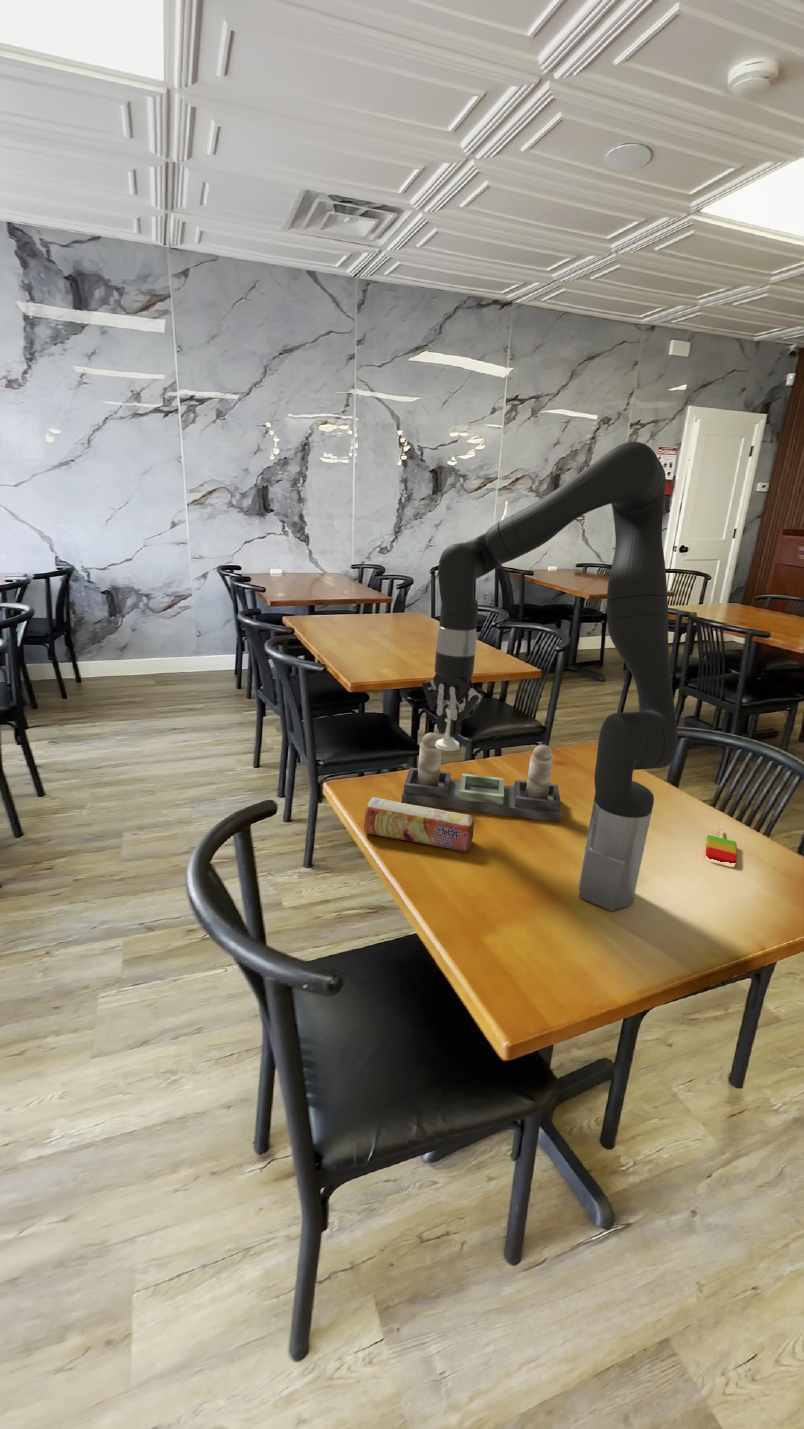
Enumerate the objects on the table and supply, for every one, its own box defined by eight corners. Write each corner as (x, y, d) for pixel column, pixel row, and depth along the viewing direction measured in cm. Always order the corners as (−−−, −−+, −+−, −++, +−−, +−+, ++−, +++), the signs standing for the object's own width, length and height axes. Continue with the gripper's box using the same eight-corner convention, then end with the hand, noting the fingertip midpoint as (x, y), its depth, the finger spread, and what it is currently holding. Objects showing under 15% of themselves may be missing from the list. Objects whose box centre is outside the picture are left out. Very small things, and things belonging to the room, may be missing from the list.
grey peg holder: (555, 799, 148) (565, 738, 143) (559, 822, 138) (570, 757, 133) (408, 781, 152) (412, 722, 147) (401, 802, 142) (405, 739, 137)
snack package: (473, 840, 129) (476, 809, 126) (468, 857, 123) (471, 825, 120) (370, 821, 133) (372, 792, 131) (360, 837, 127) (362, 806, 125)
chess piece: (458, 752, 128) (462, 704, 125) (433, 749, 129) (437, 701, 126) (461, 743, 133) (465, 697, 130) (437, 740, 134) (441, 694, 131)
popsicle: (704, 862, 126) (706, 854, 126) (706, 830, 139) (708, 822, 139) (735, 871, 124) (737, 862, 124) (734, 837, 137) (736, 829, 136)
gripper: (496, 654, 124) (487, 739, 129) (437, 641, 131) (431, 721, 137) (476, 660, 118) (467, 748, 123) (415, 646, 126) (409, 730, 131)
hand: (448, 734), depth 130 cm, fingers closed on chess piece
